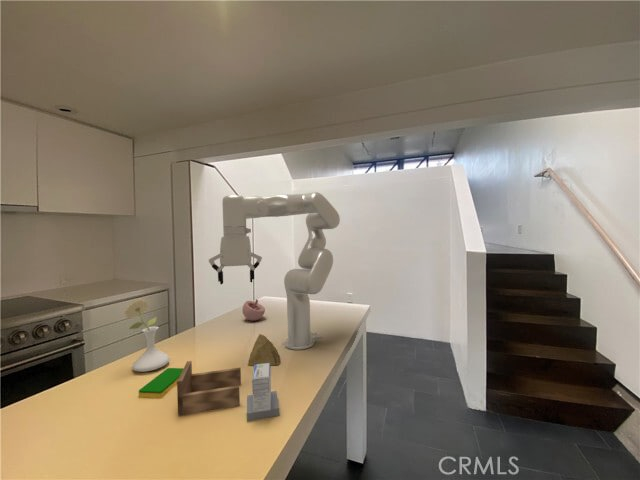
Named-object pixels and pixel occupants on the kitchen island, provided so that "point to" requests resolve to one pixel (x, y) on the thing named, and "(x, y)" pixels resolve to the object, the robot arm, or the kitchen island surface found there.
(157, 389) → the dish sponge
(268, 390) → the medicine box
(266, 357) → the rock
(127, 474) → the kitchen island surface
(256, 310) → the red apple
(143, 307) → the flower in vase
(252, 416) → the plinth
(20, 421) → the kitchen island surface
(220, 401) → the rack
